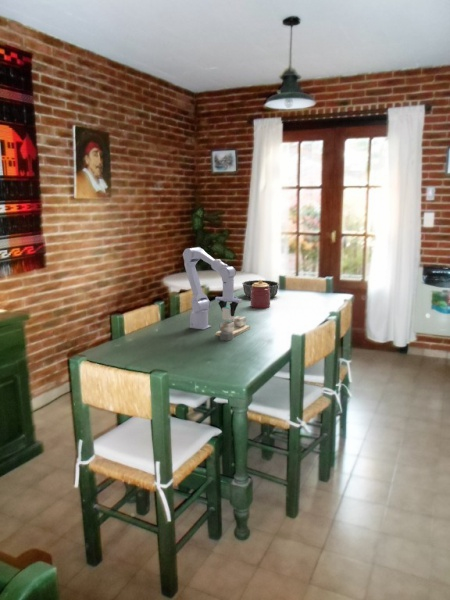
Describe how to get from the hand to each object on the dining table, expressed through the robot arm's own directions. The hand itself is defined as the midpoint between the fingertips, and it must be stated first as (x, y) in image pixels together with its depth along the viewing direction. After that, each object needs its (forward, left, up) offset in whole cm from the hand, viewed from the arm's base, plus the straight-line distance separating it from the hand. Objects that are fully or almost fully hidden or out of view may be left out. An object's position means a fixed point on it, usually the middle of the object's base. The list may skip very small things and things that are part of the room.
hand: (228, 315), depth 258 cm
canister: (-13, +66, -10) cm, 68 cm away
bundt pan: (-27, +96, -10) cm, 100 cm away
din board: (+1, +3, -9) cm, 10 cm away
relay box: (+5, -11, -10) cm, 15 cm away
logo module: (0, 0, -2) cm, 2 cm away
